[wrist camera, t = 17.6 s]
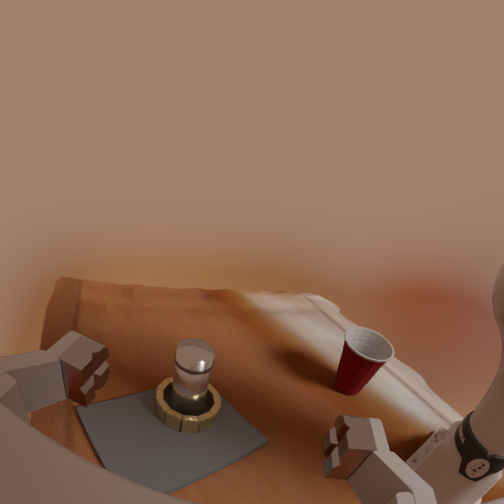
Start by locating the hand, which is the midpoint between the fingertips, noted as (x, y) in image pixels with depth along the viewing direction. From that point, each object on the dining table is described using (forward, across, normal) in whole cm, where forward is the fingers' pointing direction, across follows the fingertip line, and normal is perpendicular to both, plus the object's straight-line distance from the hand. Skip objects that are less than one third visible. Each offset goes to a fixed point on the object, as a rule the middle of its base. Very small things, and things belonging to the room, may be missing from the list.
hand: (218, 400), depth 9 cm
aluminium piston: (+25, +5, +29) cm, 38 cm away
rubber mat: (+20, +6, +30) cm, 36 cm away
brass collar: (+25, +5, +29) cm, 38 cm away
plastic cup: (+42, -24, +30) cm, 57 cm away
